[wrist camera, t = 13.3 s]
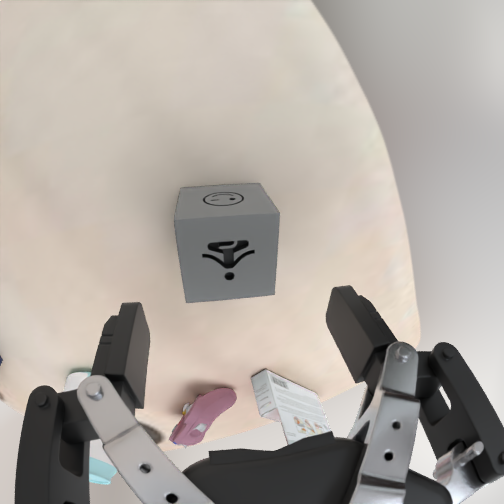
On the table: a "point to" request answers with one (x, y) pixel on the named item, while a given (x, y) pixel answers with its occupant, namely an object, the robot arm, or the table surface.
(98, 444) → the can
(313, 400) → the ink box
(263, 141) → the table surface
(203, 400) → the video game controller
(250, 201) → the dice cube
